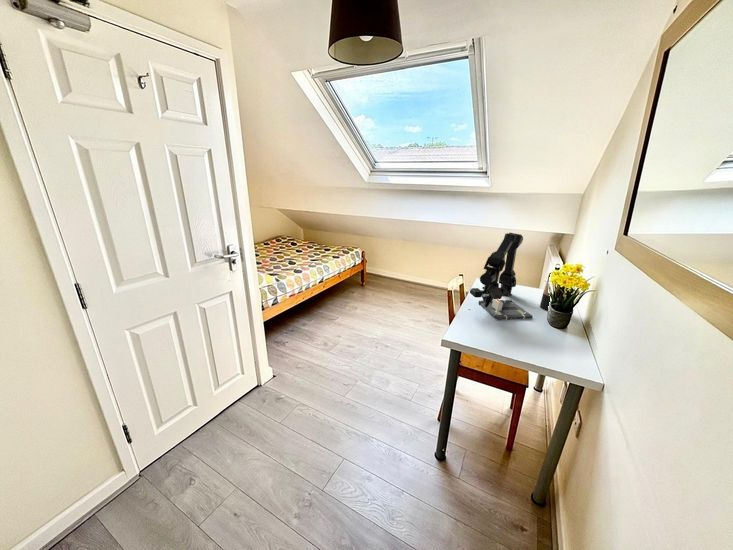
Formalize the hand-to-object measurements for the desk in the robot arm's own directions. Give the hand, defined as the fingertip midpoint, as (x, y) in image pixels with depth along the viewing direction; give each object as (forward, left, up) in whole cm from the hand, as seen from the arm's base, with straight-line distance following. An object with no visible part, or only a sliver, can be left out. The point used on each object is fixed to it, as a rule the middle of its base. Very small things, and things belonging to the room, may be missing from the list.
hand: (485, 306), depth 157 cm
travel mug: (-1, +38, -3) cm, 39 cm away
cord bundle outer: (+8, +11, -3) cm, 14 cm away
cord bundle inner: (-8, +11, -3) cm, 14 cm away
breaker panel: (0, +11, -3) cm, 12 cm away
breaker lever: (0, +6, -1) cm, 6 cm away
